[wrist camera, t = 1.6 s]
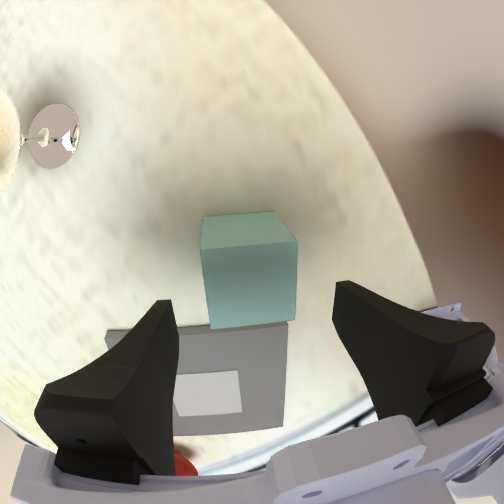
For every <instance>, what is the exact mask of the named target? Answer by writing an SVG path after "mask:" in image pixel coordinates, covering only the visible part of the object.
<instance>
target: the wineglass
mask: <svg viewBox="0 0 504 504" xmlns="http://www.w3.org/2000/svg"><path fill="white" fill-rule="evenodd" d="M79 135H80V128H79V122H78V119H77V117H76V115H75V113H74V112H73V111H72V110H71V108H69V107H68V106H66V105H63V104H52V105H49V106H47V107H45V108H43V109H42V110H41V111H40V112H39V113H38V114H37V115H36V116H35V118H34V119H33V121H32V123H31V125H30V128H29V132H28V135H26V134H22V126H21V120H20V116H19V112H18V110H17V107H16V105H15V103H14V102H13V100H12V98H11V97H10V96H9V95H8V94H7V93H6V92H5V91H4V90H2V89H1V88H0V194H1V193H2V192H3V191H4V190H5V188H6V187H7V185H8V184H9V182H10V180H11V178H12V176H13V174H14V172H15V169H16V166H17V163H18V160H19V156H20V152H21V146H22V145H24V144H26V143H27V144H28V150H29V153H30V156H31V158H32V159H33V161H34V162H35V163H36V164H37V165H38V166H40V167H42V168H44V169H56V168H59V167H61V166H63V165H64V164H65V163H66V162H68V161H69V159H70V158H71V157H72V156H73V154H74V152H75V150H76V148H77V145H78V141H79Z"/></svg>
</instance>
